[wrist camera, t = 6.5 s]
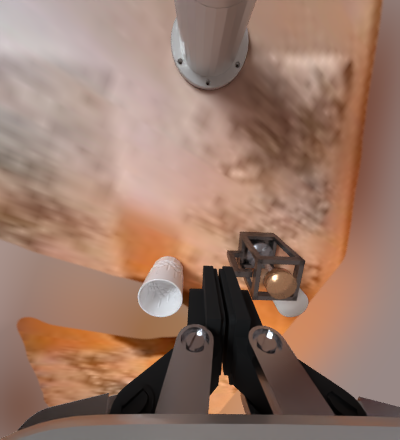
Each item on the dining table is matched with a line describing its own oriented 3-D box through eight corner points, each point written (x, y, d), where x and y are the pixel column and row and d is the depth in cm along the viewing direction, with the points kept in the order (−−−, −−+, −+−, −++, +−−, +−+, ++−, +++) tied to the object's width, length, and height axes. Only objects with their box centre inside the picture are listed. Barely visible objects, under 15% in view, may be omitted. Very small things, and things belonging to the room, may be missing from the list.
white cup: (192, 267, 43) (191, 296, 33) (171, 290, 45) (164, 324, 35) (165, 246, 42) (155, 270, 32) (144, 271, 43) (128, 301, 34)
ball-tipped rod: (247, 241, 38) (267, 270, 28) (273, 242, 38) (302, 271, 28) (245, 265, 40) (262, 300, 29) (269, 265, 40) (296, 301, 29)
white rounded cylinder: (265, 268, 43) (279, 290, 36) (291, 269, 44) (311, 291, 36) (261, 290, 45) (275, 316, 37) (286, 291, 45) (305, 317, 37)
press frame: (226, 231, 41) (238, 258, 29) (273, 232, 41) (305, 260, 29) (223, 261, 43) (234, 299, 31) (268, 262, 43) (296, 300, 31)
